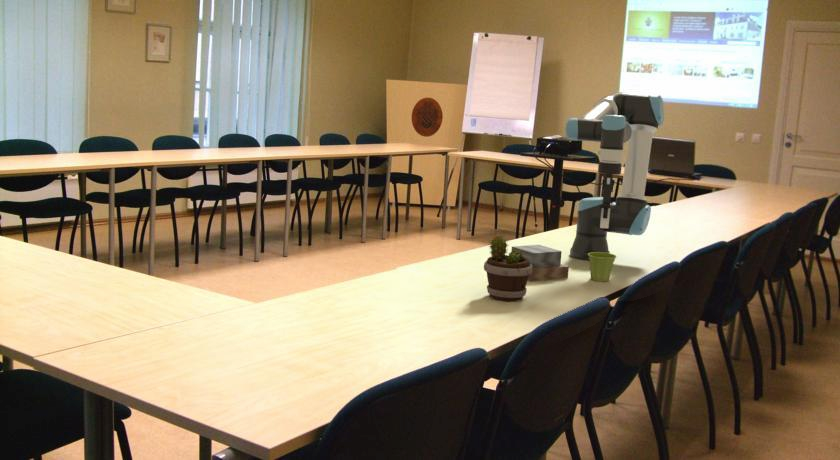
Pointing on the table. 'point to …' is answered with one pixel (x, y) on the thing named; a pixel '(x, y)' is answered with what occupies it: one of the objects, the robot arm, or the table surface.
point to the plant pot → (601, 265)
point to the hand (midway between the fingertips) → (604, 225)
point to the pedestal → (544, 262)
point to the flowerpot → (506, 272)
